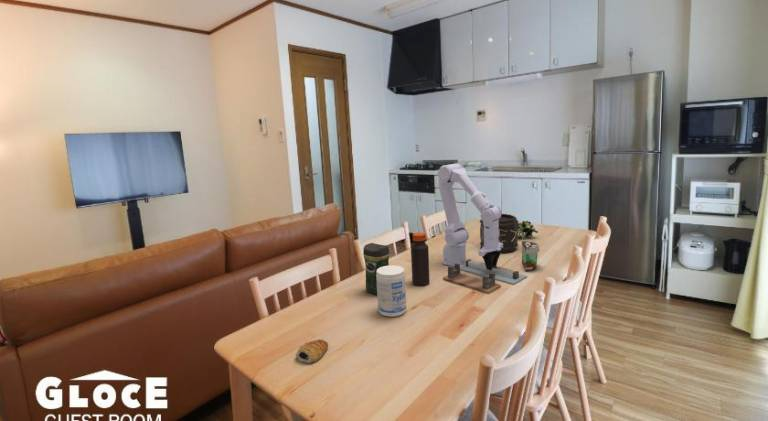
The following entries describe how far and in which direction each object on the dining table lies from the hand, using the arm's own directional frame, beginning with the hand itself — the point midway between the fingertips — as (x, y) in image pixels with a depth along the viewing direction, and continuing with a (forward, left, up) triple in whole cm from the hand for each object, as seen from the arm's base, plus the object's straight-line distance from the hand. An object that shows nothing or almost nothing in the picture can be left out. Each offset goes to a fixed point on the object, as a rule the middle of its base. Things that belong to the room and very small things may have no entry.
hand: (491, 268), depth 159 cm
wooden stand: (0, -14, -2) cm, 14 cm away
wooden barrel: (-15, +30, -2) cm, 34 cm away
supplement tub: (-6, -50, -2) cm, 50 cm away
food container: (+9, +16, -2) cm, 19 cm away
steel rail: (0, 0, -1) cm, 1 cm away
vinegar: (-15, -26, -2) cm, 30 cm away
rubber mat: (0, 0, -2) cm, 2 cm away
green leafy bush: (-15, +53, -2) cm, 55 cm away
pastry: (-4, -83, -2) cm, 83 cm away
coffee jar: (-22, -42, -2) cm, 47 cm away
